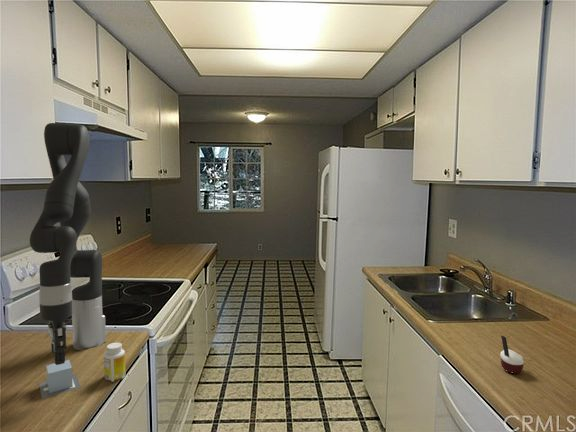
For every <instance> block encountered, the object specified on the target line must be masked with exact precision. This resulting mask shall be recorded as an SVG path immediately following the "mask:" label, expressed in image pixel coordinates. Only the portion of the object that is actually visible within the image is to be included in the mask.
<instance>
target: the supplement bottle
mask: <svg viewBox="0 0 576 432" xmlns="http://www.w3.org/2000/svg"><path fill="white" fill-rule="evenodd" d="M122 346H123V345H122V343H121V342H112V343H109V344H108V345H106V350H105V352H104V354H103V367H104V368H103V370H104V371H103V373H104V374H103V375H104V380H105V381H107V382H110V383H111V382H117V381H120V380H123V379H124V378H125V377H126V375H127V374H126V373H127V372H126V351H125V349H124V348H123V347H122Z"/></svg>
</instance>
